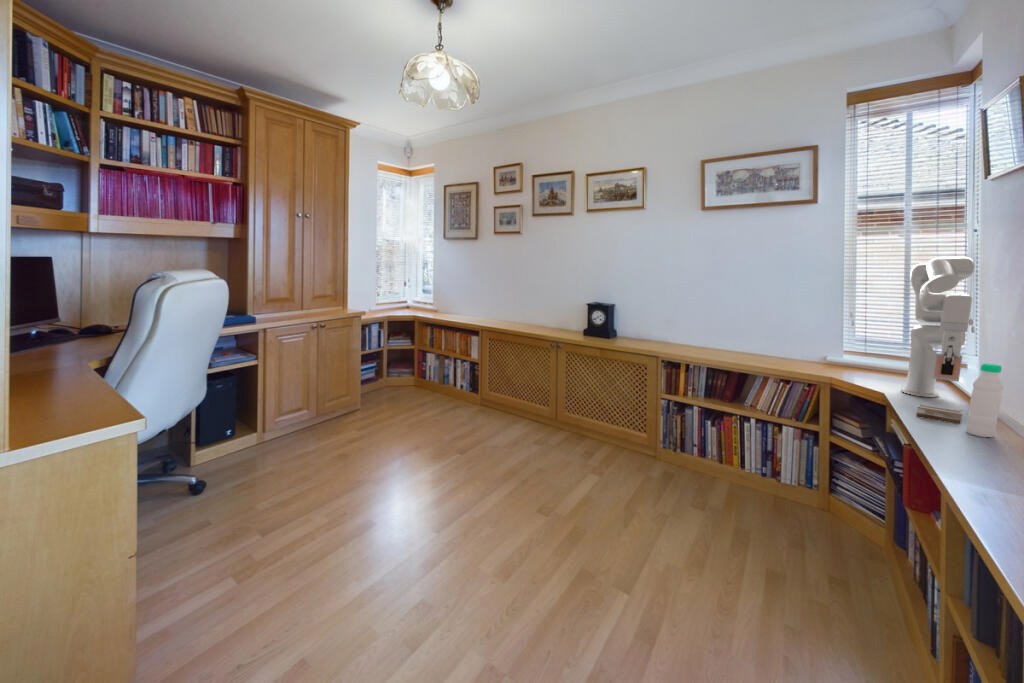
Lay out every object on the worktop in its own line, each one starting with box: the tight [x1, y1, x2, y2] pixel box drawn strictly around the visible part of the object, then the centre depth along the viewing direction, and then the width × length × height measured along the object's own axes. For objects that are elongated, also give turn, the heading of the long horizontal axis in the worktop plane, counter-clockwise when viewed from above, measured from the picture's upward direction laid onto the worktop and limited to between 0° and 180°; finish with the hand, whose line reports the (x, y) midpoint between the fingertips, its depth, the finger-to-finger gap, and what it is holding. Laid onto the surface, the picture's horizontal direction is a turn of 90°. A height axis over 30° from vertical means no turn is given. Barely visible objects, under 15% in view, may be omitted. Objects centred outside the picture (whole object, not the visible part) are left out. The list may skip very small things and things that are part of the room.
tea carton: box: [933, 351, 964, 383], centre depth 169 cm, size 5×7×10 cm
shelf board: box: [916, 404, 963, 425], centre depth 171 cm, size 14×12×4 cm
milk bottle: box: [965, 363, 1004, 438], centre depth 151 cm, size 7×7×25 cm
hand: (946, 372), depth 169 cm, fingers closed on tea carton, 5 cm apart
